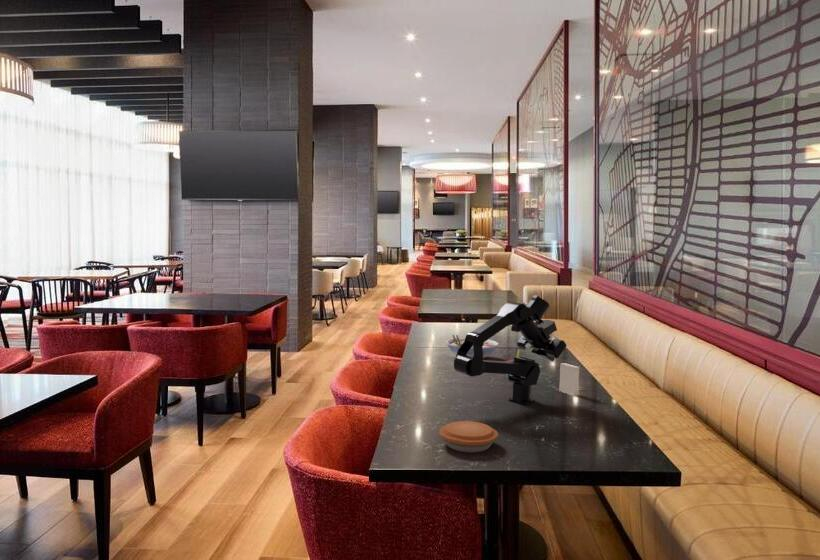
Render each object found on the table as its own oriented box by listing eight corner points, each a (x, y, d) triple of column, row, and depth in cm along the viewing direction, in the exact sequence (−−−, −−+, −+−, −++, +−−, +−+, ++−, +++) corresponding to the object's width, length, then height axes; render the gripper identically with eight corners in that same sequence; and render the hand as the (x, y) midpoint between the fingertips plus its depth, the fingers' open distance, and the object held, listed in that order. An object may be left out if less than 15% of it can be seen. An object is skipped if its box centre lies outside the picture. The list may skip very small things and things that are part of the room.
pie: (492, 435, 170) (492, 418, 169) (502, 456, 154) (503, 437, 154) (436, 435, 169) (437, 417, 169) (441, 455, 154) (441, 436, 153)
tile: (573, 396, 212) (575, 367, 211) (559, 391, 218) (560, 363, 217) (578, 395, 213) (580, 367, 212) (563, 390, 219) (565, 362, 218)
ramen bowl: (501, 366, 256) (502, 346, 255) (446, 364, 256) (447, 345, 255) (494, 353, 280) (495, 336, 280) (444, 352, 281) (445, 334, 280)
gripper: (563, 316, 198) (586, 347, 205) (524, 309, 214) (546, 338, 221) (544, 342, 195) (568, 373, 201) (506, 333, 211) (529, 361, 217)
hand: (553, 360), depth 210 cm, fingers closed
